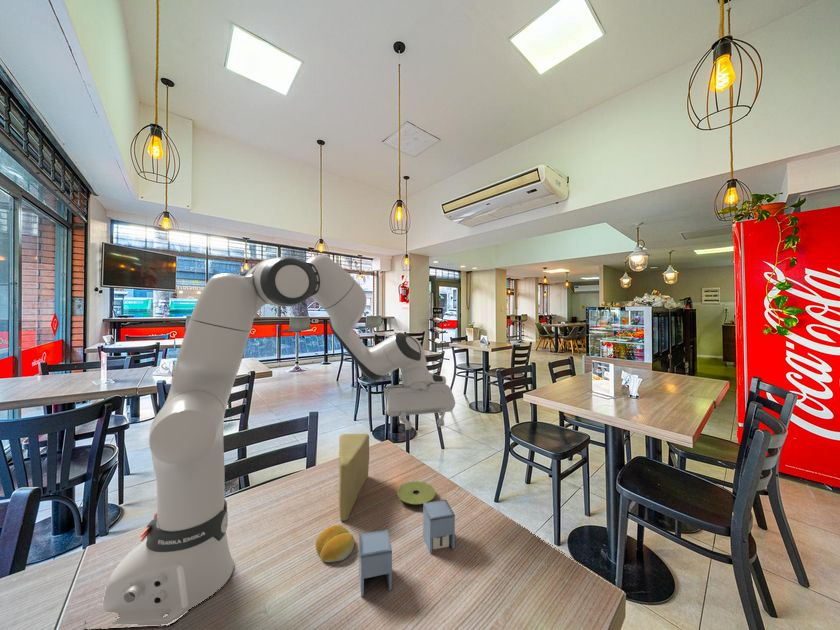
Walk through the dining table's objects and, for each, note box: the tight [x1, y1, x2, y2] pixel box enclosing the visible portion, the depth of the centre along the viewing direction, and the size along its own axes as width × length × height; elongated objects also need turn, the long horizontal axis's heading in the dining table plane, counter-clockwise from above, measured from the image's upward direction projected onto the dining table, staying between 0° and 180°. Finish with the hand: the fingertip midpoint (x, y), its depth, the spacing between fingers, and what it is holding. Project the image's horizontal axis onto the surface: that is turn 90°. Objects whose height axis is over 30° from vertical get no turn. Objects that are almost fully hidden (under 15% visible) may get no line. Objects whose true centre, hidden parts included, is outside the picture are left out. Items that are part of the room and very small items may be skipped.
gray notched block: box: [358, 529, 393, 598], centre depth 64 cm, size 6×6×8 cm
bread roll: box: [315, 524, 355, 563], centre depth 72 cm, size 8×9×4 cm
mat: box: [396, 481, 436, 505], centre depth 92 cm, size 11×11×2 cm
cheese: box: [338, 433, 370, 522], centre depth 92 cm, size 22×10×15 cm, turn 4°
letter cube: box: [432, 535, 450, 551], centre depth 75 cm, size 4×4×4 cm
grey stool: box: [422, 499, 456, 555], centre depth 75 cm, size 6×6×8 cm
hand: (425, 427), depth 86 cm, fingers open, 8 cm apart
